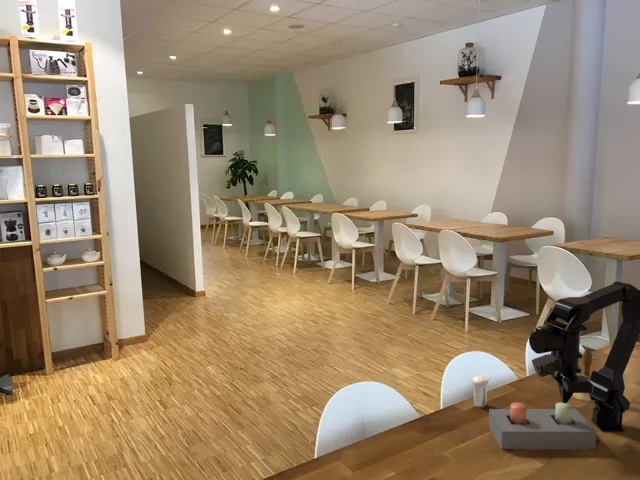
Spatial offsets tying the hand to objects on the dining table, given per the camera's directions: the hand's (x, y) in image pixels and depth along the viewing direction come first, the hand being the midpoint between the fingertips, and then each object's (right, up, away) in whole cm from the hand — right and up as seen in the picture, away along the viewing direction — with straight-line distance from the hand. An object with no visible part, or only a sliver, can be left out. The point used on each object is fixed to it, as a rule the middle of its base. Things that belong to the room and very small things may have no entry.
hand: (564, 402), depth 141 cm
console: (-6, -10, +2) cm, 12 cm away
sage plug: (0, -6, +1) cm, 6 cm away
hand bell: (+18, -6, +25) cm, 31 cm away
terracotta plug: (-12, -6, +1) cm, 13 cm away
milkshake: (-16, -7, +20) cm, 27 cm away
